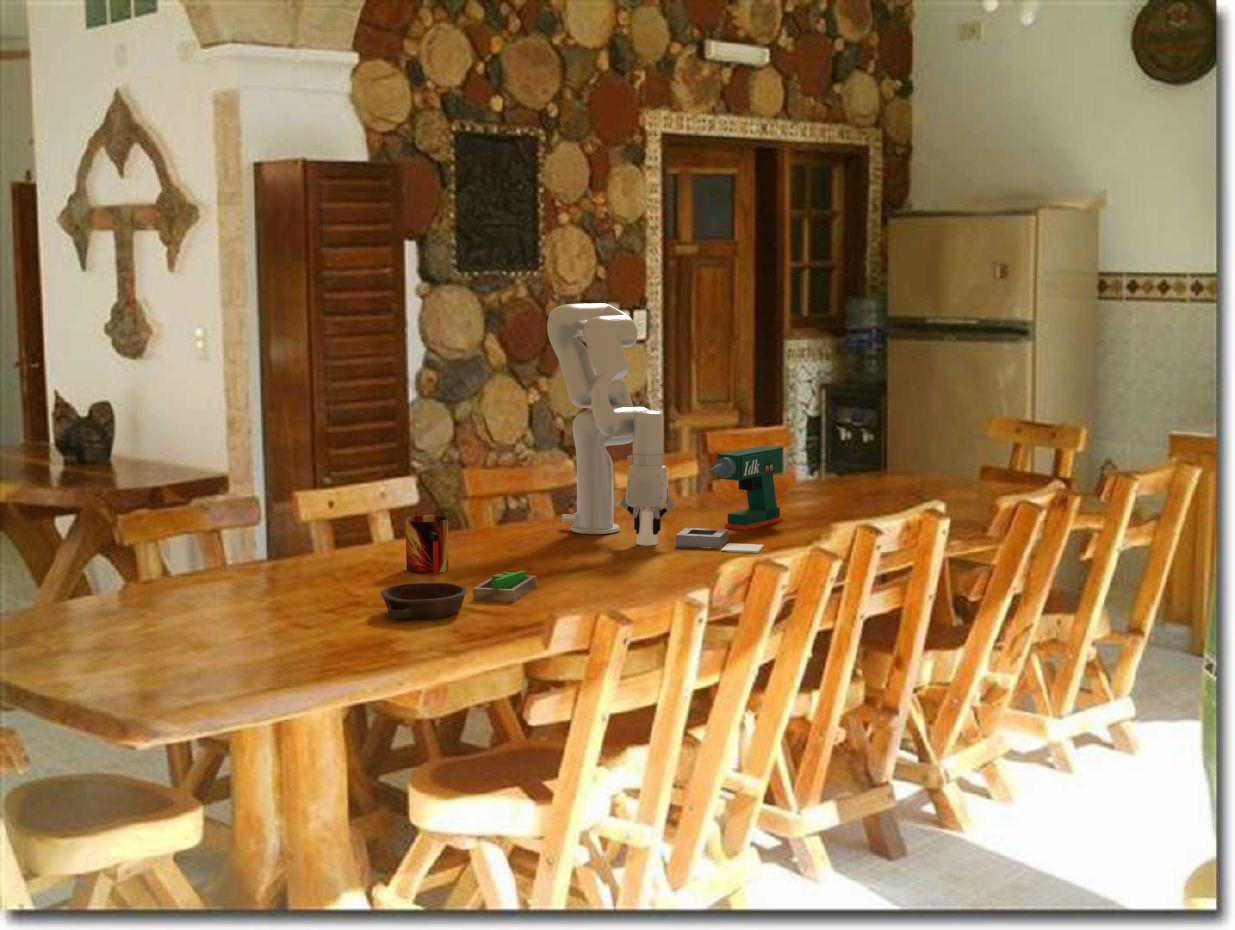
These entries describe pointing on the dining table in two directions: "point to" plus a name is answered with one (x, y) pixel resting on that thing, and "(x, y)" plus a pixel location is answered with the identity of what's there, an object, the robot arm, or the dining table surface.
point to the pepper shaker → (646, 527)
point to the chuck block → (702, 537)
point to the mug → (427, 544)
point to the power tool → (752, 483)
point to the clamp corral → (503, 590)
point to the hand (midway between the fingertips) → (647, 532)
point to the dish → (423, 600)
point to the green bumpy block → (508, 579)
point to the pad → (742, 548)
